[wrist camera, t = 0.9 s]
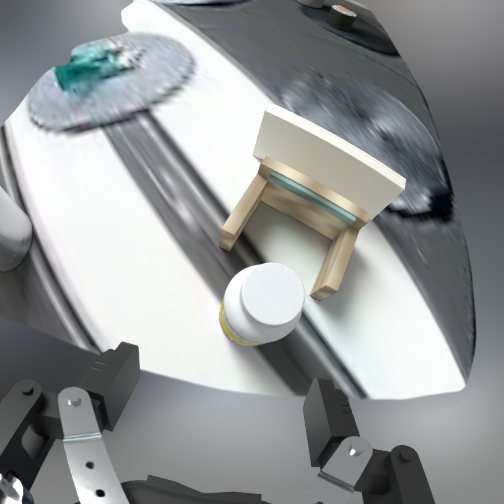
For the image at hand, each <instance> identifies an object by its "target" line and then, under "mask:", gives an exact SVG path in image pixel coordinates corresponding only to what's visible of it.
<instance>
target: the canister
mask: <svg viewBox="0 0 504 504" xmlns="http://www.w3.org/2000/svg"><path fill="white" fill-rule="evenodd" d="M296 1H297V2H299V3H301V4H303V5H306V6H309V7H313V8H321V7H322V6H323V3H324V1H325V0H296Z"/></svg>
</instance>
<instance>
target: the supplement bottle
mask: <svg viewBox="0 0 504 504" xmlns="http://www.w3.org/2000/svg"><path fill="white" fill-rule="evenodd" d="M304 300H305V292H304V287H303V284H302V282H301V280H300V278H299V277H298V275H297V274H296V273H295V272H294V271H293V270H291V269H290V268H288V267H287V266H285V265H282V264H278V263H265V264H261V265H255V266H251V267H248V268H246V269H244V270H242V271H241V272H239V273H238V274H237V275H236V276H235V277H234V278H233V279H232V280H231V282H230V283H229V285H228V287H227V289H226V292H225V295H224V298H223V302H222V304H221V308H220V312H219V321H220V325H221V328H222V330H223V332H224V333H225V335H226V336H227V337H228V338H229V339H230V340H231V341H233V342H235V343H237V344H239V345H243V346H256V345H260V344H264V343H269V342H273V341H276V340H279V339H281V338H283V337H285V336H286V335H288V334H289V333H290V332H291V331H292V330H293V329H294V328H295V326H296V325H297V323H298V321H299V319H300V316H301V313H302V307H303V304H304Z"/></svg>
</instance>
